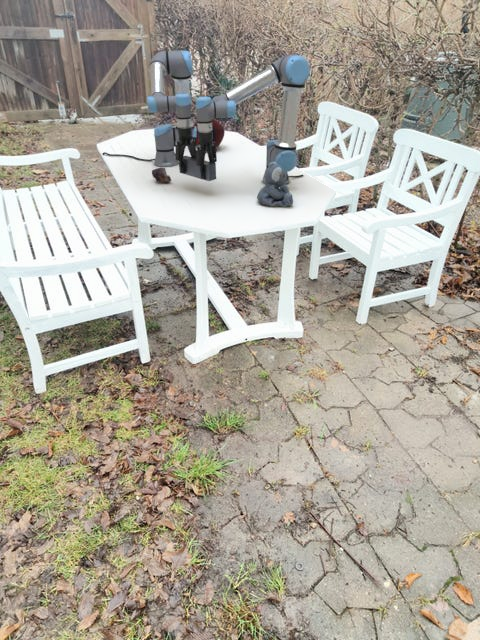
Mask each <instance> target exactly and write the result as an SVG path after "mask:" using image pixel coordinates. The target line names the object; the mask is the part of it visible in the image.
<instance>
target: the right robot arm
mask: <svg viewBox="0 0 480 640" xmlns="http://www.w3.org/2000/svg"><path fill="white" fill-rule="evenodd" d="M310 74H311V66H310V63H309V61H308V60H307V59H306V58H305V57H303V56H302V55H299V54H294V53H288V54H285V55H283V56H281V57H280V58H278V59H276V60H275V61H274V62H272V63H270V64H268V68H265V70H263V71H260V72H259V73H258V74H256V75H254V76H252V77H250V78H249V79H247V80H245V81H243V82H242V83H240V84H238V85H236V86H235V87H233V88H231V89H229V90H228V91H226V92H224V93H223V94H221V95H215V96H214V97H213V98H211V97H209V96H198V97H197V98H196V99H195V113H196V114H195V115H196V122H197V131H199V132H198V140H199V145H198V146H195V150H196V165H197V166H199V167H200V173H201V179H200V180H203V179H204V180H203V181H206V180H205V179H206V176H205V167H204V160H205V159H206V154H207V157H208V161H209V162H213V163H217V162H218V159H217V157H218V156H217V148H216V144H217V143H216V142H212V139H213V132H212V119H226V118H227V119H230V118H234V117H236V115H237V105H238V104H240V103H242V102H244V101H246V100H247V99H249V98H251V97H253V96H254V95H256V94H258V93H260V92H261V91H263V90H265V89H267V88H268V87H271V86H272V85H274V84H276V85H279V84H280V83H281V84H280V85H281V88H282V89H283V95H282V102H281V112H280V121H279V128H278V129H279V130H278V135H277V136H278V137H277V139H271V140H268V141H267V142H266V147H265V148H266V157H265V158H266V160H265V171H264V173H263V177H262V183H263V184H264V185H266V174H267V171H268V167H269V163H272V162H275V163H276V164H277V165H280V166H281V167H282V169H283V170H284V171H285V174H286V175H287V176H288V180H287V181H286V182H285V183H284V185H288V184H289V183H290V178H301V177H304V174H299V175H289V172H291V171H293V170H294V169H295V168H296V166H297V165H298V164H297V163H298V157H297V154H296V153H297V146H298V145H297V143H296V142H295V138H296V133H297V124H298V117H299V110H300V102H301V96H302V91H303V90H304V89H305V88H306V83H307V80H308V79H309V77H310ZM205 161H206V160H205Z"/></svg>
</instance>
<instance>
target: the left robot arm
mask: <svg viewBox="0 0 480 640" xmlns="http://www.w3.org/2000/svg"><path fill="white" fill-rule="evenodd" d="M192 61H193V60H192V55H191V52H190V51H189V50H182V49H179V50H161V51H159V52H157V53H156V54H155V55H154V56H153V57H152V58H151V59H150V61H149V64H148V73H149V76H150V92H151V93H150V94H151V95H150V96H147V98H146V100H147V101H146V103H147V110H148V112H149V113H171V112H173V113H174V112H175V113H176V123H175V126H173V125H172V124H168V123H166V124H161V125H158V126H156V127H155V128H154V129H153V133H154V134H153V136H154V142H155V143H154V145H155V155H154V158H152V159H151V158H150V159H146V158H141V157H137V156H134V155H129V154H117V153H116V154H115V153H114V154H112V153H111V154H110V153H109V152H105V151H104V152H103V153H102V156H104V155H107V156H109V157H110V156H111V157H128V158H131V159H132V158H133V159H135V160H137V161H142V162H153V161H154V165H155V166H157V167H162V168H167V167H168V168H169V167H174V166H177V165H178V168H179V167H180V170H179V172H180V171H181V173H180V174H182V173H183V175H186V174H185V167H184V161H183V156H185V151H186V148H187V149H188V152H189V154H190V157H193V158H196V150H195V146H197V144H196V139H197V138H196V132H197V128H196V126H194V124H195V123H194V122H193V121H192V107H191V105H192V103H191V92H190V90H191V89H190V80H191V78H192V75H193V74H194V73H195V72H194V67H193V62H192ZM166 75H170V76H171V79H172V80H173V82H174V93H175V94H174V95H166V78H165V77H166Z"/></svg>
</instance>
